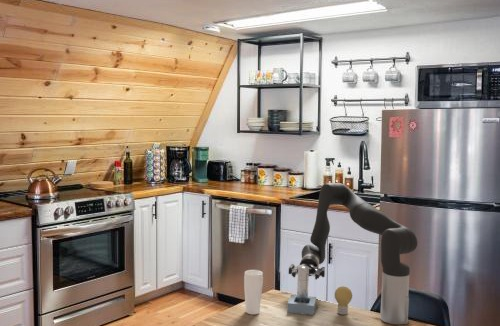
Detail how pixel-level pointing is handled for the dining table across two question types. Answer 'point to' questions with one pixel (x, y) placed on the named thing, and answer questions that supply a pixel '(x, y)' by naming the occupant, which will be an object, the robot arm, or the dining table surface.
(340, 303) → the light bulb
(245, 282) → the drinking glass
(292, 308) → the blue square frame
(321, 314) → the dining table surface
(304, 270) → the steel pin
